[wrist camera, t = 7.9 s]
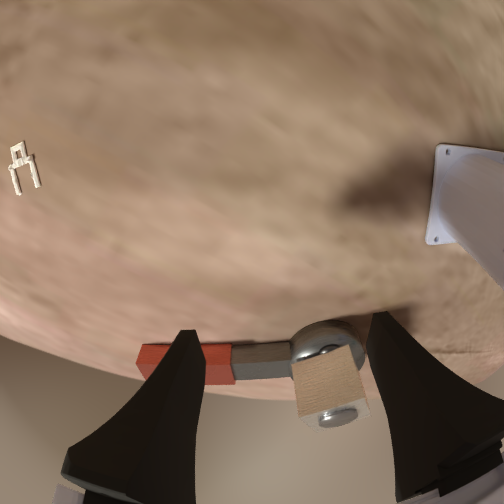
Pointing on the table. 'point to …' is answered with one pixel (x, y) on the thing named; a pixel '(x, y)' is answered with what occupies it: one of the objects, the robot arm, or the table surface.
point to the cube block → (329, 390)
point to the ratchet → (264, 354)
